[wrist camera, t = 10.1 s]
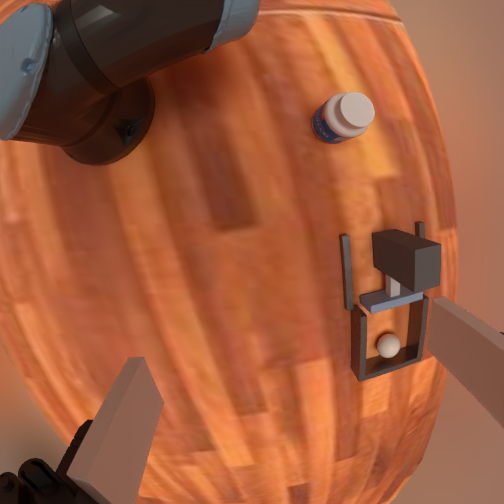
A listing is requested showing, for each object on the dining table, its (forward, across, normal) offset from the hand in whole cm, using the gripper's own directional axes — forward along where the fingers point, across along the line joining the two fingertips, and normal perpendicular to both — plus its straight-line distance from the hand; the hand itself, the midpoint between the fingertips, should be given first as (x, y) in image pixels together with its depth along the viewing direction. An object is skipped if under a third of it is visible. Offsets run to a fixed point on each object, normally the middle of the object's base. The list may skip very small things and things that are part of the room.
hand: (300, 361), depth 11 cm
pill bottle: (+27, +12, +14) cm, 33 cm away
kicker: (+26, +18, -7) cm, 33 cm away
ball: (+25, +18, -20) cm, 36 cm away
